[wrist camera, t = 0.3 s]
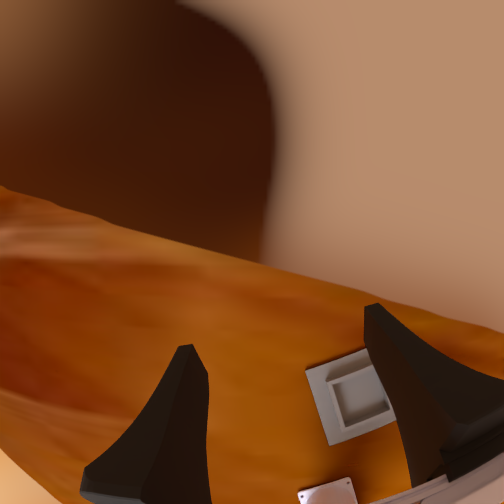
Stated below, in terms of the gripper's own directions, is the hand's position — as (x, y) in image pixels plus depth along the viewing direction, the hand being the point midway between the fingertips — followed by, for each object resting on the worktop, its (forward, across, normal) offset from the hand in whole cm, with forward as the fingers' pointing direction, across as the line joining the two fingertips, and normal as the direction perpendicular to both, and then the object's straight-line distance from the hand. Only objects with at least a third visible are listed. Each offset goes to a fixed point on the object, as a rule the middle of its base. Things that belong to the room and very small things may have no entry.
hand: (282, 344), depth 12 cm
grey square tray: (+14, -8, +29) cm, 33 cm away
